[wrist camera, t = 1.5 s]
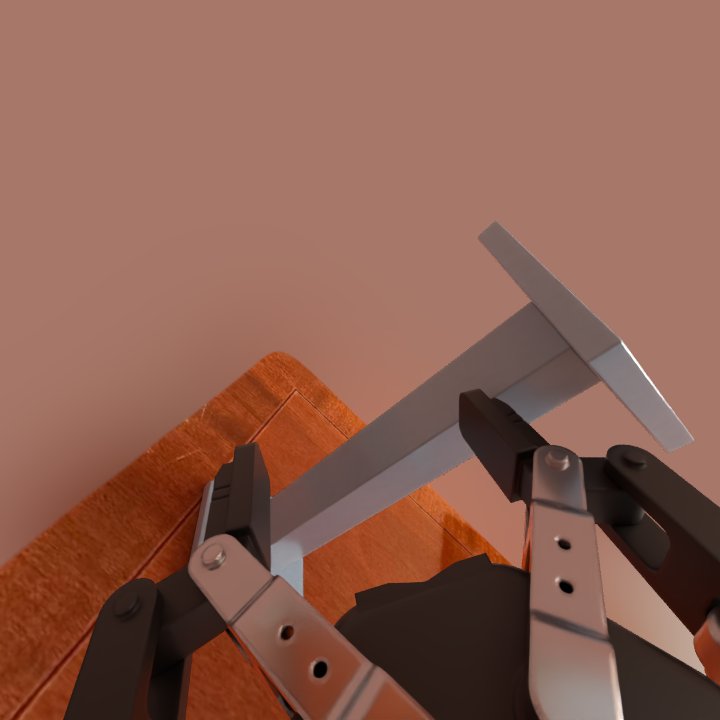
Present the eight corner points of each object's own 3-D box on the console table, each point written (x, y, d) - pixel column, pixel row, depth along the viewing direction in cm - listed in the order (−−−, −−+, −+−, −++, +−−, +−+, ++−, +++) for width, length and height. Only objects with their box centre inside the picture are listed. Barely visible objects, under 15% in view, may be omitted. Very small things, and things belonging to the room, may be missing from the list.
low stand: (176, 619, 20) (623, 340, 9) (204, 485, 26) (495, 219, 15) (294, 626, 24) (696, 441, 13) (295, 510, 30) (574, 316, 19)
